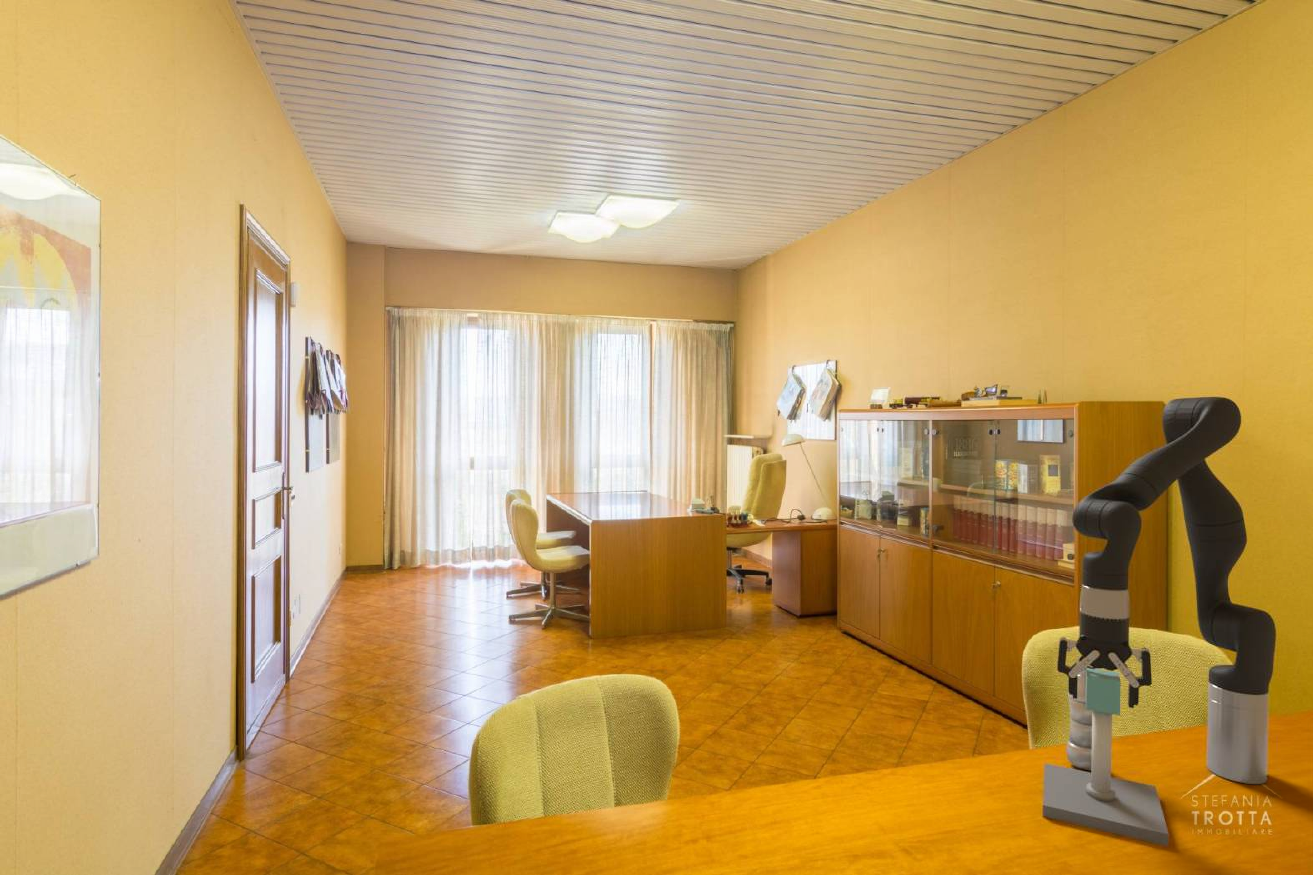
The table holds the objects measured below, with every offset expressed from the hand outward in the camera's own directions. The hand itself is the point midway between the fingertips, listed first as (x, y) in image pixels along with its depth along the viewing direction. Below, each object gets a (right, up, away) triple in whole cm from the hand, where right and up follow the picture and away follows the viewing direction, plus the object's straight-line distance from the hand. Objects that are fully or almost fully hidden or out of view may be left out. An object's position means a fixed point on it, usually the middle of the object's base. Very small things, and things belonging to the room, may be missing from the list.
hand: (1102, 701), depth 129 cm
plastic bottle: (+6, -19, +15) cm, 25 cm away
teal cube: (0, -1, 0) cm, 1 cm away
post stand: (0, -19, 0) cm, 19 cm away
